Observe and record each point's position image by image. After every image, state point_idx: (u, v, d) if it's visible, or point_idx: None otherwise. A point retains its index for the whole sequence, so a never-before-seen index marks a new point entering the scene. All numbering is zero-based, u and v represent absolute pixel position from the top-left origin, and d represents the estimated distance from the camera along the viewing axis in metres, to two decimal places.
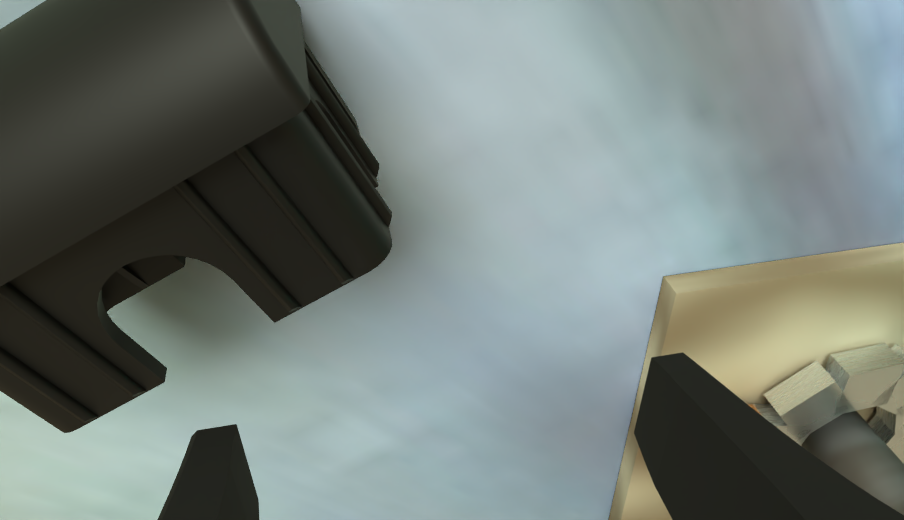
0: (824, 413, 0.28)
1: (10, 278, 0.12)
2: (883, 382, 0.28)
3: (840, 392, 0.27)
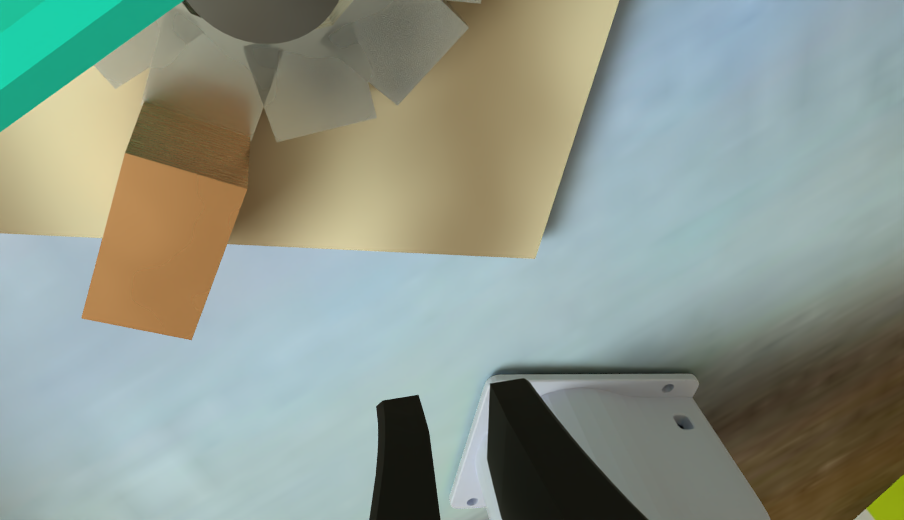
0: None
1: None
2: None
3: None
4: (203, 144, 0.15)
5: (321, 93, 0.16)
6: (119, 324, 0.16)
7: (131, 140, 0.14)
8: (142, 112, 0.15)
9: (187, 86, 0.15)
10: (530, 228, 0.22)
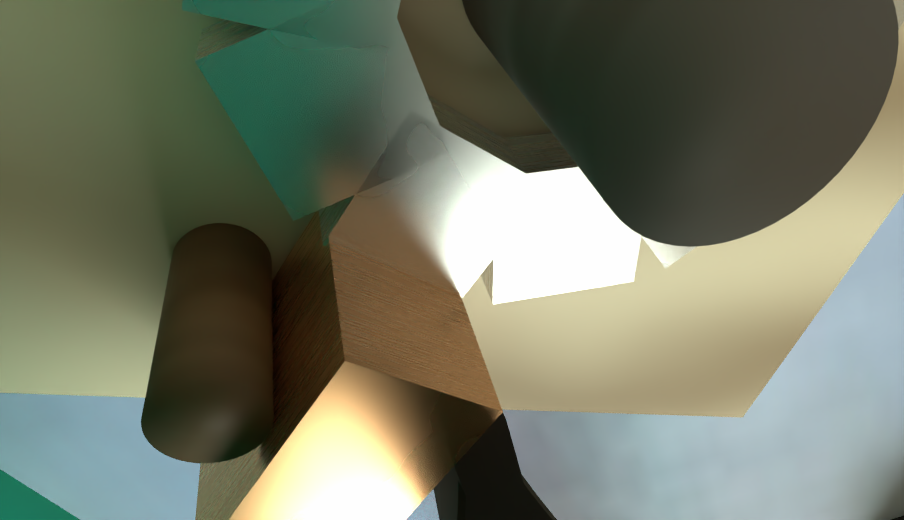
0: (357, 84, 0.09)
1: None
2: None
3: (266, 38, 0.08)
4: (422, 321, 0.10)
5: (574, 246, 0.11)
6: None
7: (342, 329, 0.08)
8: (334, 263, 0.10)
9: (398, 224, 0.10)
10: None
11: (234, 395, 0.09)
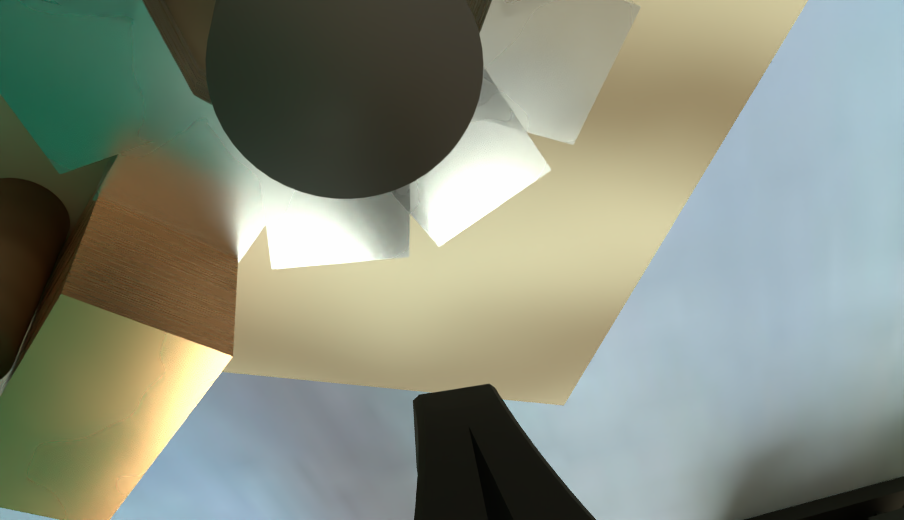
0: (107, 50, 0.10)
1: None
2: None
3: (11, 0, 0.09)
4: (176, 274, 0.11)
5: (345, 219, 0.12)
6: None
7: (73, 268, 0.09)
8: (94, 215, 0.10)
9: (166, 185, 0.11)
10: None
11: None
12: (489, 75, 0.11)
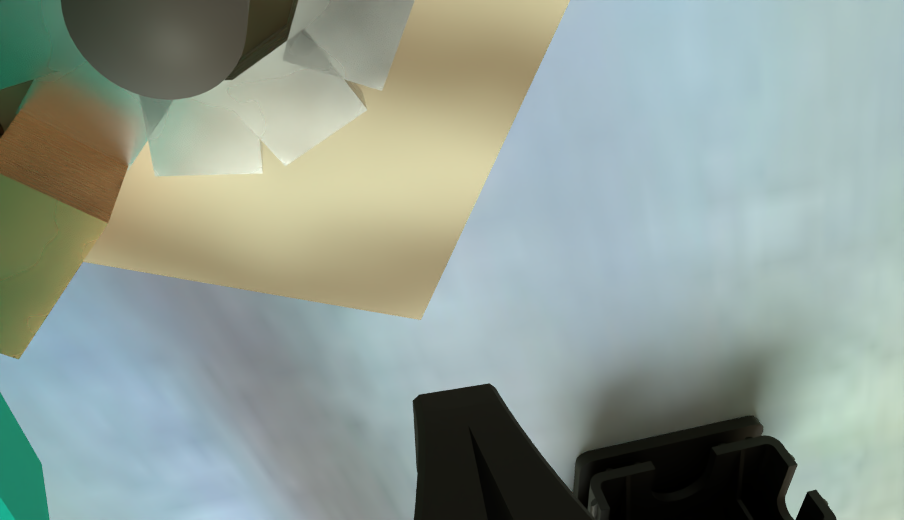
0: (23, 2, 0.14)
1: None
2: None
3: None
4: (74, 167, 0.15)
5: (209, 139, 0.16)
6: None
7: None
8: (14, 122, 0.15)
9: (70, 105, 0.15)
10: None
11: None
12: (308, 34, 0.15)
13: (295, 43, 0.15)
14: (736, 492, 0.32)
